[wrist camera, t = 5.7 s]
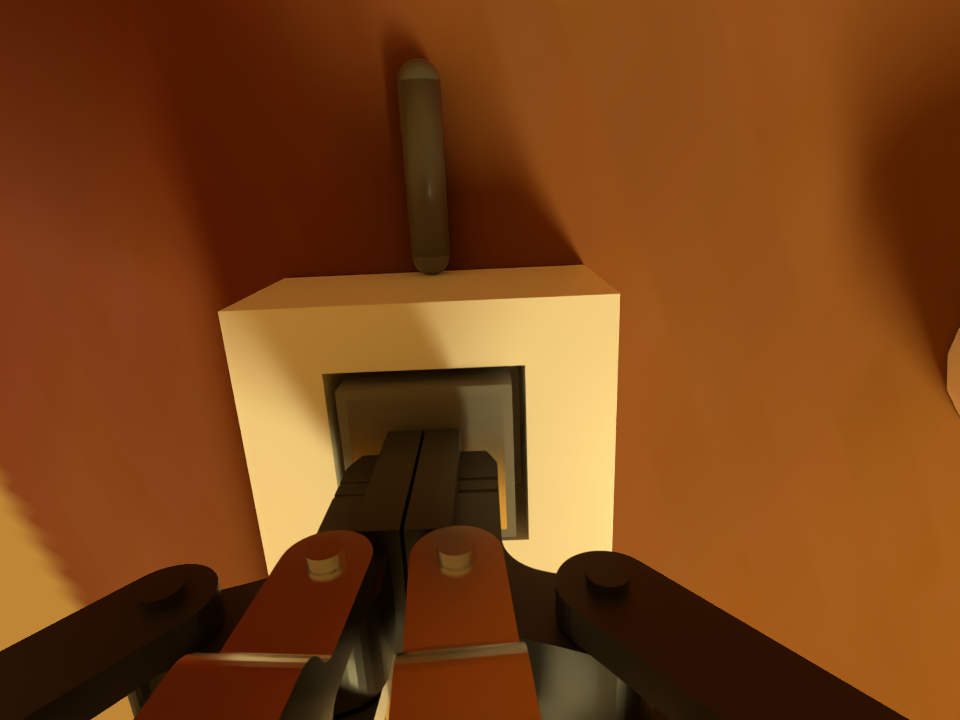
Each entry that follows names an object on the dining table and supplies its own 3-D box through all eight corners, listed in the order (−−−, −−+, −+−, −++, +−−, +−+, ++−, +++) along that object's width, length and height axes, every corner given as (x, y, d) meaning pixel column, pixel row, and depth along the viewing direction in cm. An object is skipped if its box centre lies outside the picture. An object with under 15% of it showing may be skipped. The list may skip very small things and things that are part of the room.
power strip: (253, 70, 13) (163, 27, 10) (586, 53, 13) (629, 3, 10) (365, 806, 21) (339, 945, 17) (577, 800, 21) (599, 937, 17)
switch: (358, 356, 14) (334, 392, 11) (506, 350, 14) (511, 384, 11) (374, 486, 15) (354, 542, 12) (510, 481, 15) (516, 536, 12)
